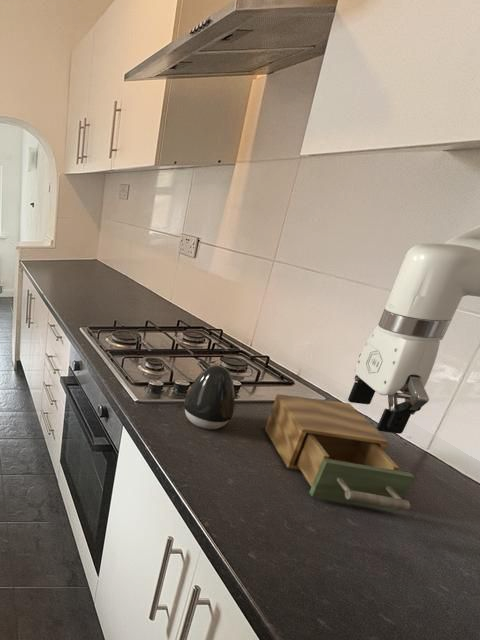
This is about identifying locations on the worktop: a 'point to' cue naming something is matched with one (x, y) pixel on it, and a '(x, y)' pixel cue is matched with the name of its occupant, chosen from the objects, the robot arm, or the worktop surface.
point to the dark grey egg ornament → (210, 398)
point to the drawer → (353, 473)
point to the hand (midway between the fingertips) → (372, 416)
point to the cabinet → (315, 424)
